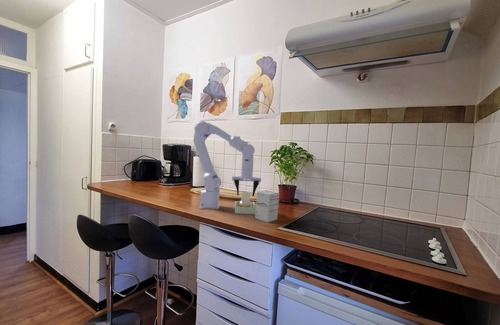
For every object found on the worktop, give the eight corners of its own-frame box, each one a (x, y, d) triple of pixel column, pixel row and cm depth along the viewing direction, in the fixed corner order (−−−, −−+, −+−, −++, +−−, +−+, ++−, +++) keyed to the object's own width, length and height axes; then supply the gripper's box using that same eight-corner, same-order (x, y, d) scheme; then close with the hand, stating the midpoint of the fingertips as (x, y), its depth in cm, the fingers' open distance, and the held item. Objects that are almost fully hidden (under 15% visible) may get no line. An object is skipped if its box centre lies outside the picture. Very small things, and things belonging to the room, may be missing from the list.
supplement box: (254, 219, 104) (256, 191, 104) (265, 216, 110) (266, 189, 109) (267, 223, 99) (269, 194, 99) (277, 220, 105) (279, 192, 104)
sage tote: (234, 214, 110) (235, 206, 110) (234, 207, 122) (235, 201, 122) (255, 215, 111) (256, 207, 111) (253, 208, 123) (254, 202, 123)
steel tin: (239, 211, 115) (239, 202, 114) (239, 208, 120) (239, 199, 120) (250, 211, 115) (251, 202, 115) (250, 208, 121) (250, 200, 120)
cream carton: (241, 201, 115) (241, 191, 115) (241, 200, 119) (241, 190, 119) (249, 202, 115) (250, 192, 115) (249, 200, 119) (249, 190, 119)
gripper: (232, 168, 112) (231, 196, 113) (262, 170, 113) (260, 197, 114) (232, 167, 119) (231, 193, 120) (260, 168, 120) (259, 194, 121)
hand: (245, 195), depth 117 cm, fingers open, 7 cm apart
